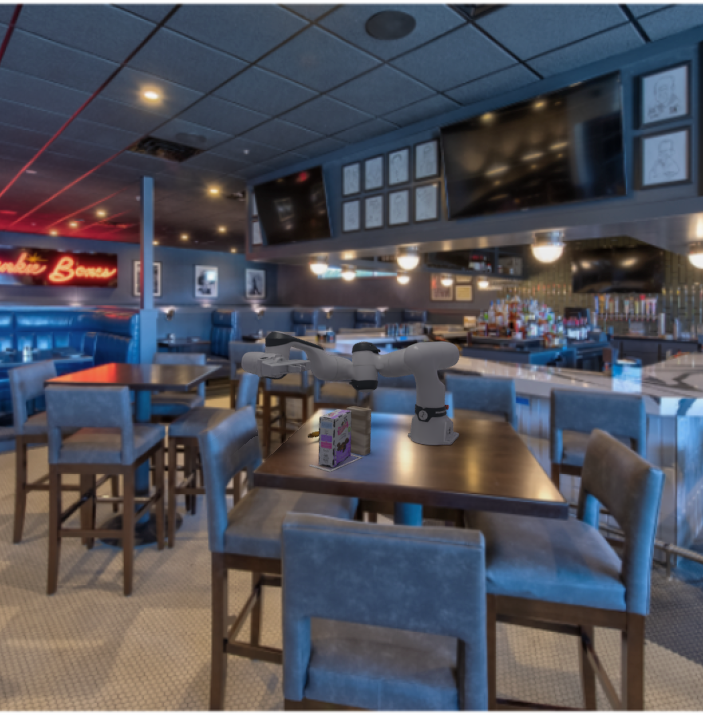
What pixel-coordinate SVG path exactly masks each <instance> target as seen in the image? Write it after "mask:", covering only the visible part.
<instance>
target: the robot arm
mask: <svg viewBox="0 0 703 715" xmlns="http://www.w3.org/2000/svg"><path fill="white" fill-rule="evenodd" d="M264 343H265V344H264V345H265V346H264V347H265V349H264V352H263V351H247V352H245V353H244V354H243V355H242V357H241V364H240V365H241V368H242V370H243V371H244V372H246V373H249V374H251V375H255V376H256V375H257V377H259V378H264V379H267V380H268V379H270V380H282V379H283V378H285V377H286V376H287V375H288V374H293V373H303V372H308V371H310V372H311V373H312V375H313V376H314V377H315V378H317V379H318V380H320V381H326V382H338V381H345V380H348V381H349V382H348V384H349V385H351V386H352V388H353V390H355V391H357V392H360V393H363V394H364V393H365V394H369V393H371V392H373V391H376V390H377V388H378V384H379V381H378V378H379V377H378V375H380V376H382V377H385V378H400V377H405V376H411V375H413V377H414V381H415V385H416V387H415V389H416V390H415V392H416V393H415V394H416V395H415V396H416V397H415V399H416V400H415V404H414V415H413V416H412V417H411V423H410V424H411V425H410V432H409V433H408V434H407V437H408V438H410V441H412V442H414V443H417V444H422V445H426V446H440V445H442V446H445V445H446V446H447V445H448V446H451V445H452V444H453V443H454V442H455V441H456V440H457V439H458V438H459V437H460V434H459V432H456V431H454V421H453V420H452V419H451V418H450V417H449V416H448V415H447V414H448V412H447V411H449V408H450V405H449V404H446V385H445V383H443V382H442V381H441V380H440V378H439V375H438V371H440V370H441V371H442V370H446V369H449V368H452V367H454V366H456V365H457V364H458V363H459V360H460V350H459V348H458V346H457V345H456V344H454V343H452V342H449V341H426V342H425V341H423V342H420V341H419V342H416V343H413V344H411V345H408V346H407V347H405V348H402V349H398V350H394V351H391V352H387V353H385V354H380V353H381V349H380V348H378V347H377V346H376V345H375V344H374V343H372V342H370V341H359V342H356V343H355V344H353V345H352V348H351V355H352V356H351V360H350V359H349V358H346V357H343V356H339V355H332V354H328V353H327V352H326V351H325V349H324V348H323V346H321V345H319V344H317V343H315V342H311V341H308V340H304V339H301V338H298V337H295V336H293V335H289V333H288V334H287V333H286V332H283V331H279V330H278V331H277V330H274V331H271V332H269V333H268V334H267V335H266V337H265V339H264ZM291 348H294V349H298V350H300V351H303V352H304V353H305V355H306V357H307V359H308V360H307V359H290V355H291Z"/></svg>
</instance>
